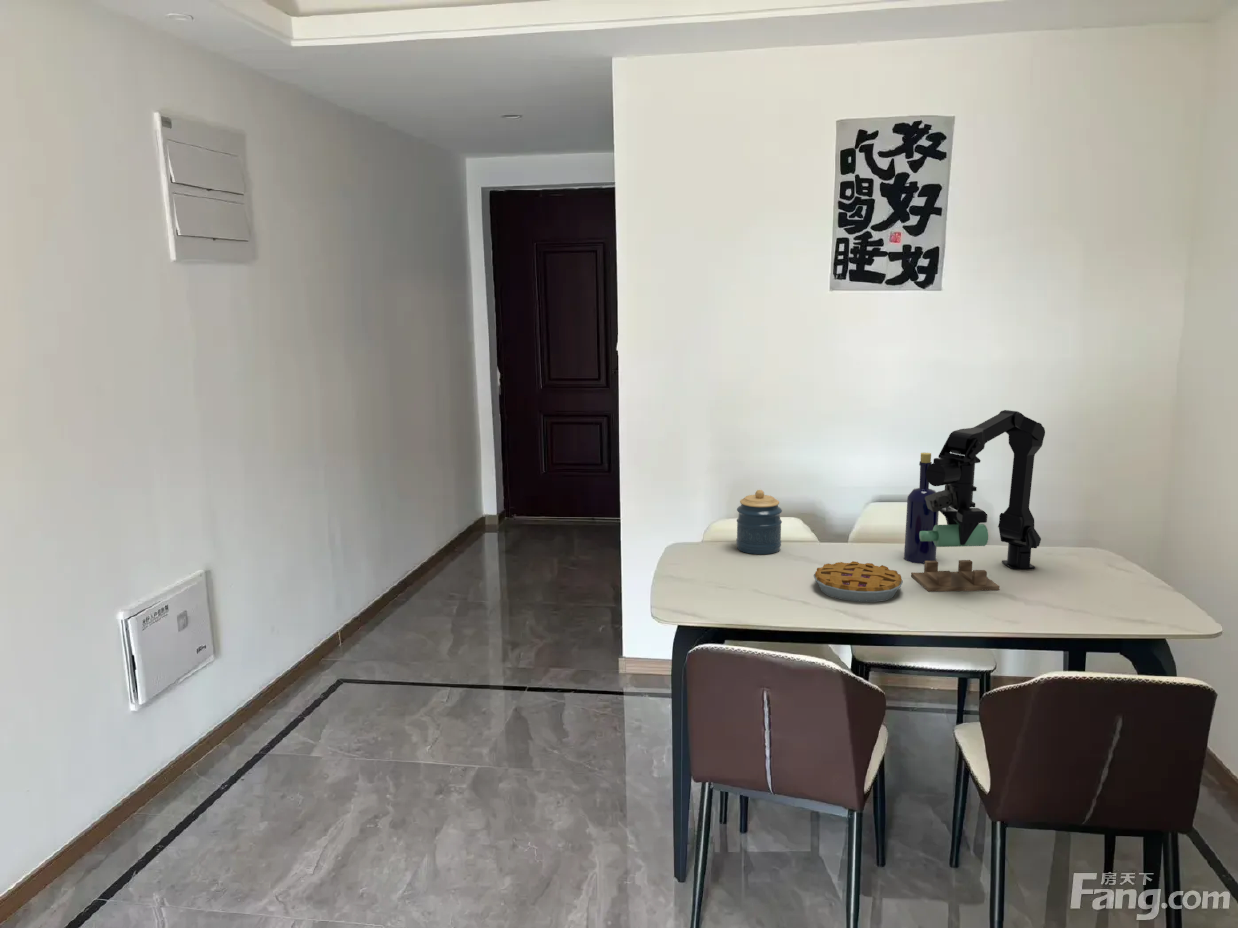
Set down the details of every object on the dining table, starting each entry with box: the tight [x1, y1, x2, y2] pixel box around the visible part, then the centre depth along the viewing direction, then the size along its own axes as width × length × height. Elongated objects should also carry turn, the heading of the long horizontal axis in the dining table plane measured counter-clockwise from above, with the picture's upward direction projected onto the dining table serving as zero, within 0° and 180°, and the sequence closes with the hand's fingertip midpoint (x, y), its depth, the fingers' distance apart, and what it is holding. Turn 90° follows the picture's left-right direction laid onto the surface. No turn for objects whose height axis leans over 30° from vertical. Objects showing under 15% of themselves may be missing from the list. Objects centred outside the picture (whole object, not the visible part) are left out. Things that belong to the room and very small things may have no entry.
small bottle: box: [919, 523, 989, 548], centre depth 225 cm, size 16×6×6 cm, turn 92°
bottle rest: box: [910, 559, 1001, 593], centre depth 227 cm, size 18×12×4 cm, turn 92°
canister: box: [735, 489, 783, 555], centre depth 258 cm, size 13×13×18 cm
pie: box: [813, 560, 904, 603], centre depth 223 cm, size 22×22×5 cm
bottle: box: [903, 452, 940, 565], centre depth 245 cm, size 9×9×30 cm
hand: (957, 541), depth 225 cm, fingers closed on small bottle, 6 cm apart
